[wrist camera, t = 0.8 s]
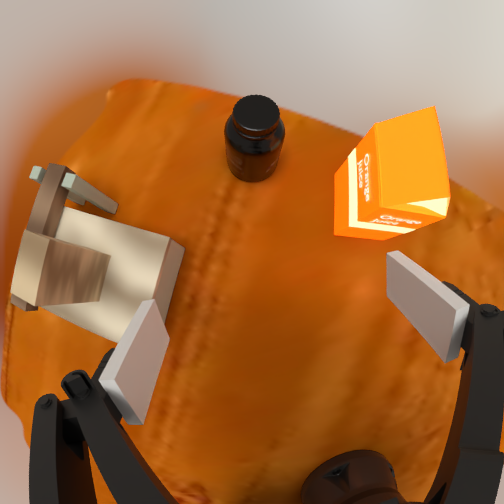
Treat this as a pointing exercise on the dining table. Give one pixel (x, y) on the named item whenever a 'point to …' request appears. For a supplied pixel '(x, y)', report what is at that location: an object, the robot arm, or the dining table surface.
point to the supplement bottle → (254, 138)
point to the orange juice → (393, 179)
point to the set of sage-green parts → (85, 191)
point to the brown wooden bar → (46, 212)
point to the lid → (91, 271)
